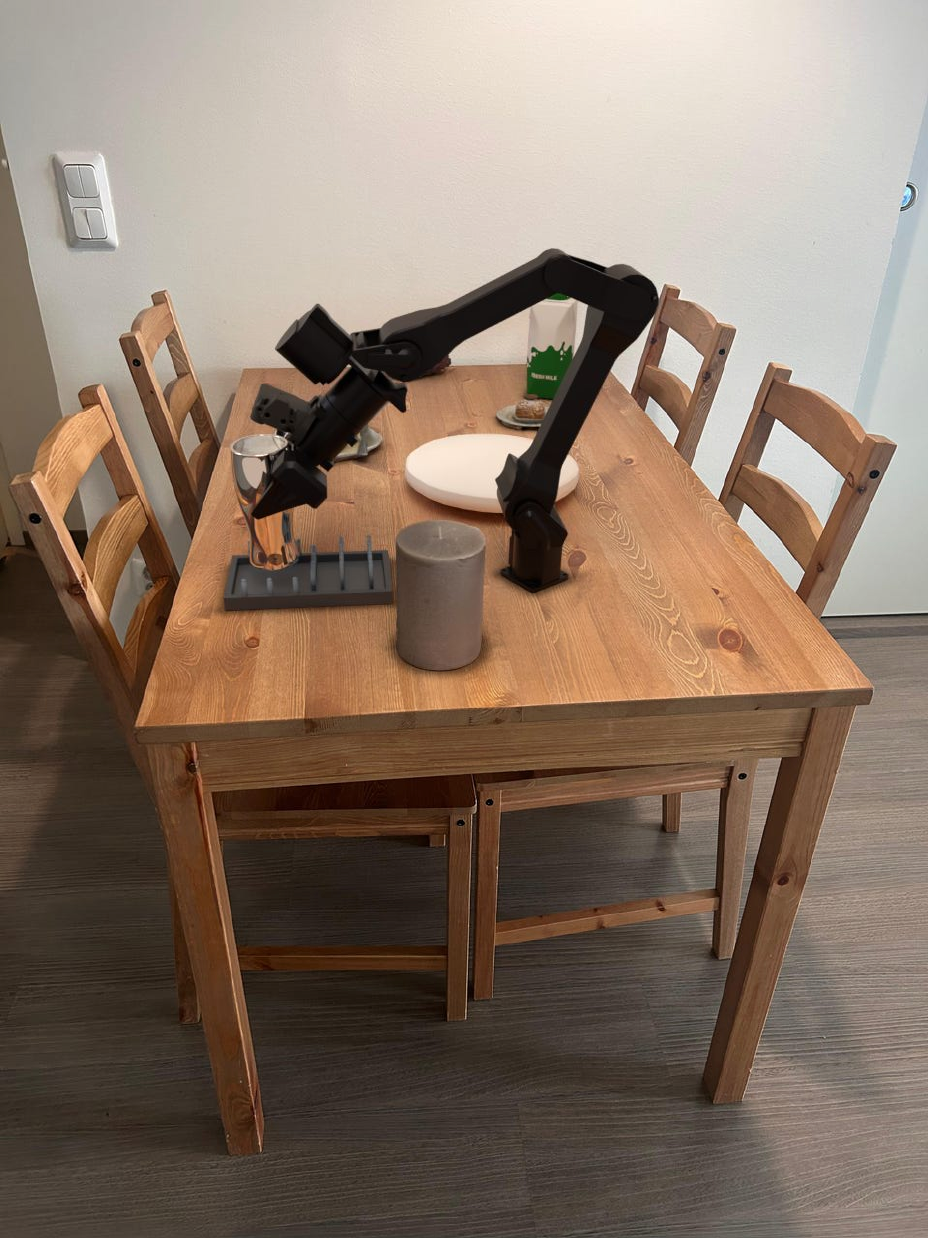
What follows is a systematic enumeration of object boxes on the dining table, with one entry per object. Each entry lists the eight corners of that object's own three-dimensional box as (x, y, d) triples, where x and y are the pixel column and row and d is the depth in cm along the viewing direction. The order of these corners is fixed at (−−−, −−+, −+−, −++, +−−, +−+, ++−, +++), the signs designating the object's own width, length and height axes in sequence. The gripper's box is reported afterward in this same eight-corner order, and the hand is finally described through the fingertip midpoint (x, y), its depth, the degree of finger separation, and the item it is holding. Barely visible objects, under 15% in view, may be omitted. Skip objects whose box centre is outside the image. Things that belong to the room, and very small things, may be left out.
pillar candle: (378, 646, 105) (375, 525, 97) (441, 616, 111) (443, 500, 103) (437, 682, 99) (438, 557, 91) (500, 648, 105) (506, 528, 97)
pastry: (558, 434, 165) (560, 409, 163) (491, 429, 167) (492, 404, 164) (563, 412, 176) (565, 388, 173) (500, 408, 177) (501, 384, 175)
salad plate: (408, 456, 155) (408, 429, 152) (309, 475, 146) (307, 448, 144) (358, 421, 169) (357, 396, 166) (264, 437, 160) (262, 411, 158)
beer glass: (235, 559, 114) (216, 444, 106) (281, 540, 118) (266, 428, 110) (267, 579, 110) (250, 461, 102) (314, 558, 114) (302, 443, 106)
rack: (388, 561, 122) (387, 527, 120) (392, 603, 113) (392, 567, 110) (233, 567, 120) (229, 532, 117) (225, 610, 111) (220, 573, 108)
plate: (429, 421, 155) (588, 436, 151) (427, 459, 158) (583, 475, 154) (383, 465, 130) (572, 485, 126) (382, 509, 133) (567, 530, 129)
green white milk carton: (573, 389, 188) (582, 286, 177) (564, 402, 180) (573, 295, 170) (531, 384, 190) (537, 282, 179) (520, 397, 182) (526, 291, 172)
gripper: (292, 339, 110) (209, 432, 114) (286, 388, 94) (189, 493, 98) (362, 402, 115) (280, 489, 119) (367, 458, 99) (272, 555, 103)
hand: (256, 504), depth 110 cm, fingers closed on beer glass, 7 cm apart
